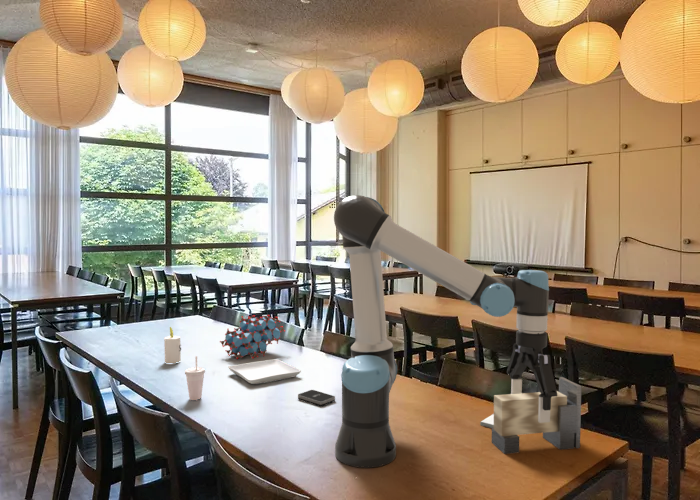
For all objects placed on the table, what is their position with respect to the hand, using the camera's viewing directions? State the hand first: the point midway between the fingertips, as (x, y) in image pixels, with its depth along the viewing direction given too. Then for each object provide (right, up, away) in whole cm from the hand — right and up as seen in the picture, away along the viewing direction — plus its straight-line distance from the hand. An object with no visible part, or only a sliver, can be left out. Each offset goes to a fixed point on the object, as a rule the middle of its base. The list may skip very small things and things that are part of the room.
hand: (529, 412), depth 133 cm
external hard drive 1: (-57, -8, +35) cm, 68 cm away
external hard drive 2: (-2, -9, +16) cm, 18 cm away
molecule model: (-89, -5, +94) cm, 130 cm away
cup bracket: (+8, -9, +2) cm, 12 cm away
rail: (0, -5, 0) cm, 5 cm away
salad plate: (-79, -7, +63) cm, 101 cm away
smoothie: (-97, -7, +37) cm, 104 cm away
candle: (-120, -5, +82) cm, 146 cm away
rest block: (-7, -9, -1) cm, 11 cm away
